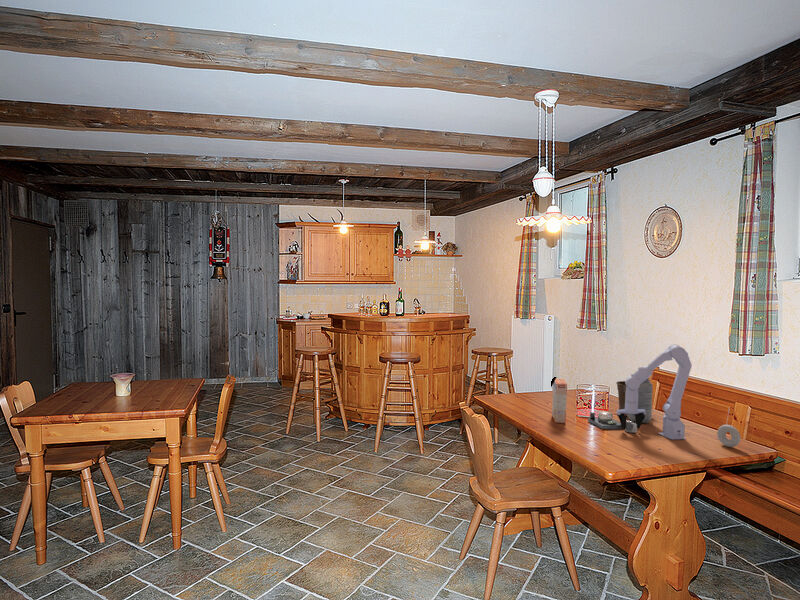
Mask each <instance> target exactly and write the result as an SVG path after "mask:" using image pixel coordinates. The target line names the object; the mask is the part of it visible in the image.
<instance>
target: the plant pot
mask: <svg viewBox="0 0 800 600" xmlns="http://www.w3.org/2000/svg"><path fill="white" fill-rule="evenodd" d="M625 381H626V380H618V381H616V382H615V383H616V387H617V394H618V410H621V409H625V394H626V384H625Z"/></svg>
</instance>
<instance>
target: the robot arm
mask: <svg viewBox="0 0 800 600" xmlns="http://www.w3.org/2000/svg"><path fill="white" fill-rule="evenodd" d="M673 360H674V361H675V363H677V365H678V367H677V368H678V369H677V370H676V371H677V372H676V375H675V378H674V382H673V384H672V385H673V386H672V388H671V391H670V395H669V396H668V398H667V400H666V402H665V403H664V404H663V406H662V410H663V412H664V414H663V415H662V432H658V434H659V435H661V436H663V437H665V438H667V439H670V440H686V439H687V438H686V437H685V432H686V431H685V430H686V429H685V428H686V426H685V424H684V422H683V421H682V420H681V415H682V410H681V407H682V400H683V399H682V398H683V395H684V392H685V388H686V385H687V382H688V379H689V376H690V373H691V369H692V362H691V359H690V357H689V352H687V351H686V349H685V348H683V347H682V346H680V345H679V344H671V345H670V346H668V348H667V347H666V348H665V349H664V350H663V351H662V352H661V353H660V354H658V355H657V356H656V357H655V358H654V359H653V360H651V361H650V363H648V364H647V365H643V366H639V367H638V368H637V369H638V370H636V371H635V372H634V373H631V374H630V376H628V377H627V378H626V379H625V380H624V381H625V384H626V394H625V409H621V410H619V409H616V414H617V417H618V419H619V422H620V423H621V427H622V429H621V430H625V429H626V420H627V419H628V415H627V414H635V418H636V423H635V424H637V430H638V429H639V430H640V428H641V425H642V424H641V423H642V421H643V419H644V418H645V415H644V414H646V410H644V409H638V388H639V386H640V384H641V383H642V382H644V381H645V380H646V379H650V377H651V376H652V375H653V371H654V370H656V369H657V368H658V367H659V366H661V365H662V364H664V363H665V362H667V361H668V362H669V361H673Z"/></svg>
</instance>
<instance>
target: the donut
mask: <svg viewBox="0 0 800 600" xmlns="http://www.w3.org/2000/svg"><path fill="white" fill-rule="evenodd" d="M727 433H730V437H731V438H730V439H729V438H728V436H726V434H727ZM716 435H717V436H716V437H717V438H718V440H719V442H720V443H721V444H722V445H724V446H725V447H727V448H735V447H736V446H738V445H739V444H740V442H741V434H740V432H739V430H738V429H737V428H736V427H734V426H733V425H731V424H723V425H721V426H719V428H718V429H717V433H716Z"/></svg>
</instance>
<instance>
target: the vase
mask: <svg viewBox="0 0 800 600" xmlns="http://www.w3.org/2000/svg"><path fill="white" fill-rule="evenodd" d="M653 388H654V386H653V383H651V380H650V378H648V379H646V380H645V381H644V382H642V383H641V384H640V386H639V388H638V409H644V410H646V414H644V415H645V418H644V419H643V421H642V423H646V424H649V422H650V421H651V420H652V416H653V415H652V414H653V413H652V411H653V390H654V389H653ZM626 416H627V419H629V421H630V420H631V421H633V423H634V422H636V418H635V414H626Z"/></svg>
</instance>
